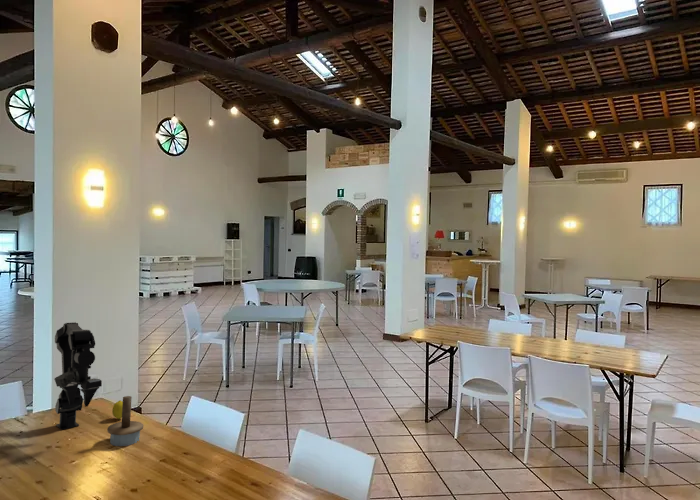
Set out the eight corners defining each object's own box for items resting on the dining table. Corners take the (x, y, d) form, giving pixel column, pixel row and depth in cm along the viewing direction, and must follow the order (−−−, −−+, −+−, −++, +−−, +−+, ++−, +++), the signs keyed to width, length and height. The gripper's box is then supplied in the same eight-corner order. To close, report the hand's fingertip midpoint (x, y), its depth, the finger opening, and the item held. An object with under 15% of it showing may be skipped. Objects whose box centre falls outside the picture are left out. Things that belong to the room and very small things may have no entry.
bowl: (105, 440, 179) (106, 428, 179) (131, 433, 187) (132, 422, 187) (118, 448, 173) (118, 435, 173) (144, 440, 181) (145, 428, 181)
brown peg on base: (101, 434, 173) (103, 401, 173) (115, 422, 186) (117, 392, 186) (136, 435, 174) (138, 402, 174) (147, 423, 187) (149, 392, 187)
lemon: (128, 417, 204) (129, 399, 204) (121, 421, 199) (122, 402, 199) (116, 416, 205) (117, 398, 205) (109, 420, 199) (110, 401, 200)
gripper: (43, 365, 177) (42, 407, 176) (74, 368, 169) (73, 413, 167) (72, 361, 187) (71, 401, 186) (103, 363, 179) (102, 406, 177)
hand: (78, 405), depth 179 cm, fingers open, 9 cm apart
